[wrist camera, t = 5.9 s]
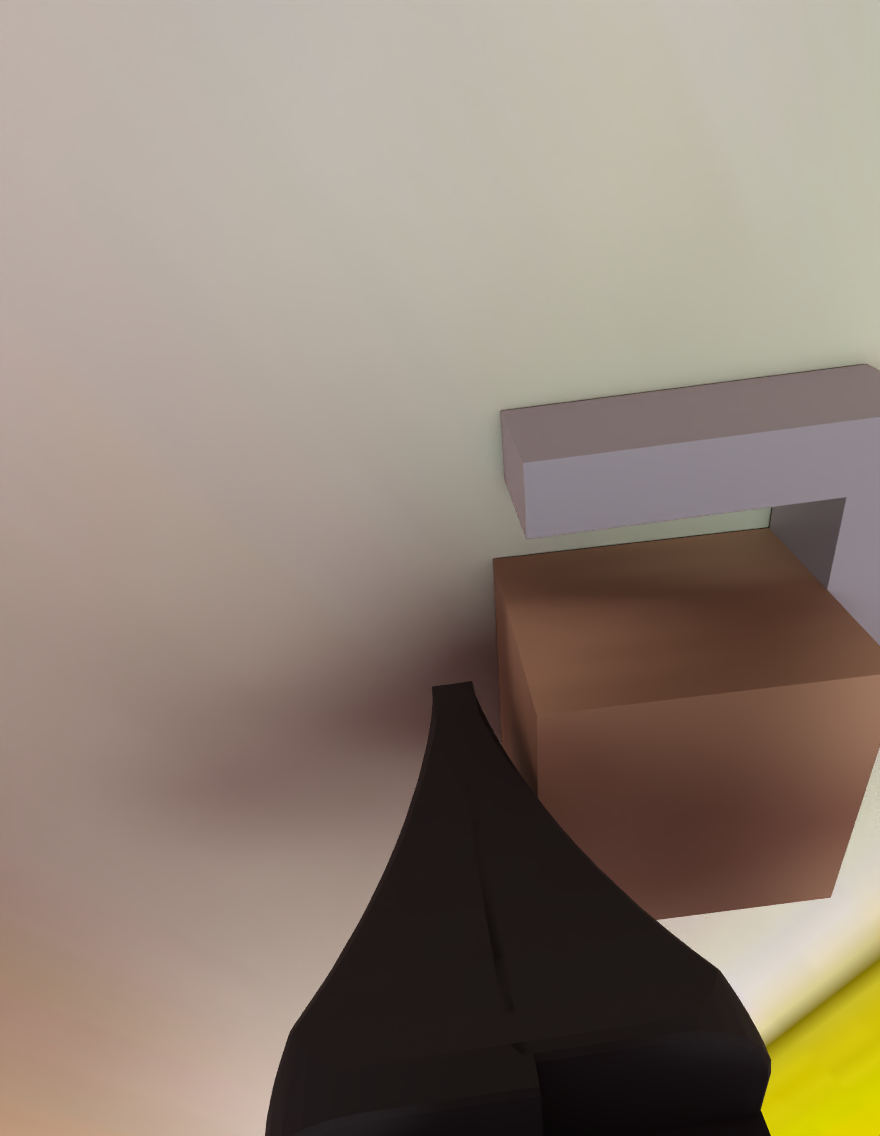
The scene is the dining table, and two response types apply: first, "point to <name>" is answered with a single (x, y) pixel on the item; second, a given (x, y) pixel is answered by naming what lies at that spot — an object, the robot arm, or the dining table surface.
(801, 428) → the purple-grey c-shaped block
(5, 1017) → the dining table surface
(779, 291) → the dining table surface
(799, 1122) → the dining table surface
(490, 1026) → the robot arm
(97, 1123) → the dining table surface
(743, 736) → the wooden cube block
